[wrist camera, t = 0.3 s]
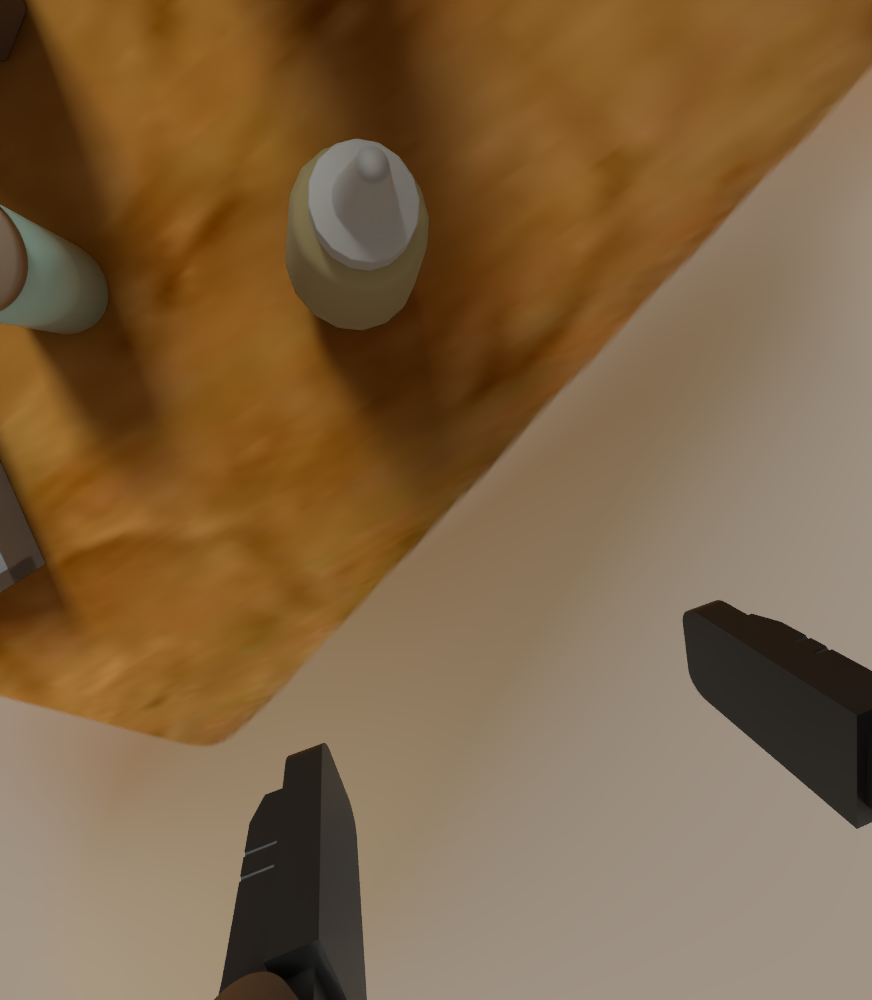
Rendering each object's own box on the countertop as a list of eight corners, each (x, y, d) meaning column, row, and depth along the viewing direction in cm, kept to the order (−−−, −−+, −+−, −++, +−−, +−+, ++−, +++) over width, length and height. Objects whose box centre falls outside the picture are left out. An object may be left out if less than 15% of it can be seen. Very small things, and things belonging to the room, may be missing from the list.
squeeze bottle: (362, 359, 35) (394, 339, 18) (265, 280, 33) (195, 171, 16) (431, 268, 35) (529, 159, 18) (337, 180, 32) (346, -44, 15)
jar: (-14, 243, 29) (-177, 177, 20) (90, 229, 30) (-19, 159, 21) (26, 343, 31) (-108, 326, 21) (123, 326, 32) (36, 303, 22)
